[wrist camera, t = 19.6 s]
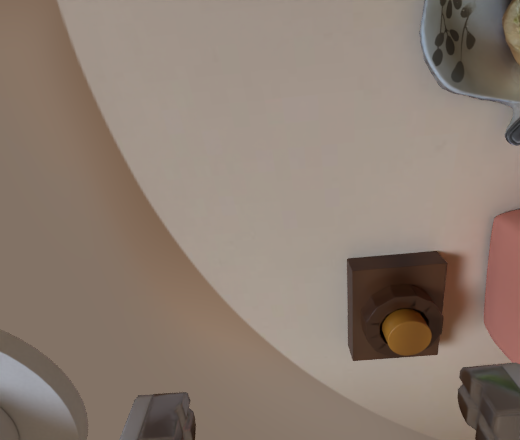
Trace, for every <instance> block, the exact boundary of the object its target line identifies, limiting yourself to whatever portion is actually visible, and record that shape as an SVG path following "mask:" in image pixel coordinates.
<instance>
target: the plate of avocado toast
mask: <svg viewBox="0 0 520 440" xmlns="http://www.w3.org/2000/svg"><path fill="white" fill-rule="evenodd" d="M419 34H420V42H421V46H422V51H423V56H424V61H425V63H426V64H427V66H428V68H429V70H430V71H431V73H432V75H433V76H434V77H435V79H436V81H437V83H438V84H439V86H440V87H441V88H442V89H445V90H447V91H450V92H452V93H454V94H462V95H467V96H469V97H472V98H478V99H481V100H490V101H498V102H500V103H502V104H505V105H508V106H510V107H511V108H512V109H513V117H512V120H511V123H510V124H509V126H508V127H507V129H506V132H505V138H506V140H507V141H508V142H509V143H510V144H512V145H516V146H517V145H520V0H425V2H424V9H423V16H422V21H421V26H420V32H419Z"/></svg>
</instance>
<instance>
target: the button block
mask: <svg viewBox="0 0 520 440" xmlns="http://www.w3.org/2000/svg"><path fill="white" fill-rule="evenodd" d="M446 271H447V262H446V261H445V260H444V259H443V258H442V257H441V256H440V255H439V254H438V252H437V251H433V252H421V253H410V254H398V255H386V256H375V257H363V258H351V259H347V287H348V346H349V349H350V353H351V356H352V359H353V361H358V360H372V359H385V358H399V357H413V356H427V355H437V354H438V345H439V336H440V335H441V333H442V325H443V315H442V308H443V299H444V289H445V280H446ZM399 309H412V310H415V311H417V312H418V313H420V314H421V316H422V317H423V319H424V320H425V322H426V323H427V325H428V327H429V328H430V330H431V333H432V338H431V342H430V344H429V345H428V346H427V348H426V349H424V350H423V351H422V352H420V353H418V354H415V355H409V356H404V355H399V354H397V353H395V352H393V351H392V350H391V349H390V347H389V346H388V343H387V341H386V339H385V336H384V334H383V332H382V324H383V321H384V320H385V318H386V317H387V316H388V315H389V314H390V313H392V312H394V311H396V310H399Z"/></svg>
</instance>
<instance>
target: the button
mask: <svg viewBox="0 0 520 440" xmlns="http://www.w3.org/2000/svg"><path fill="white" fill-rule="evenodd" d="M382 332H383V334H384V336H385V339H386V341H387V343H388V346H389V347H390V349H391V350H392V351H393V352H395V353H397V354H399V355H404V356H409V355H415V354H418V353H420V352H422V351H423V350H424V349H426V348H427V346H428V345H429V344H430V342H431V338H432V333H431V330H430V328H429V327H428V325H427V323H426V322H425V320H424V319H423V317H422V316H421V314H420V313H418V312H417V311H415V310H412V309H399V310H396V311H394V312H392V313H390V314H389V315H388V316H387V317H386V318H385V320H384V321H383V324H382Z"/></svg>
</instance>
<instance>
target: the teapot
mask: <svg viewBox="0 0 520 440" xmlns="http://www.w3.org/2000/svg"><path fill="white" fill-rule="evenodd" d="M484 323H485V326H486V328H487V330H488V332H489V334H490V336H491V337H492V339H493V341H494V342H495V343H496V345H497V346H498V347H499V348H500V349H501V350H502V352H503V353H504V354H505V355H506V356H507V357H508V358H509V359H510V360H511V362H512V363H515V362H516V363H518V364H520V209H518V210H514V211H510V212H506V213H503V214H500V215H498V216H496V217H495V218H494V222H493V227H492V234H491V241H490V250H489V259H488V269H487V279H486V292H485V307H484Z"/></svg>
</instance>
